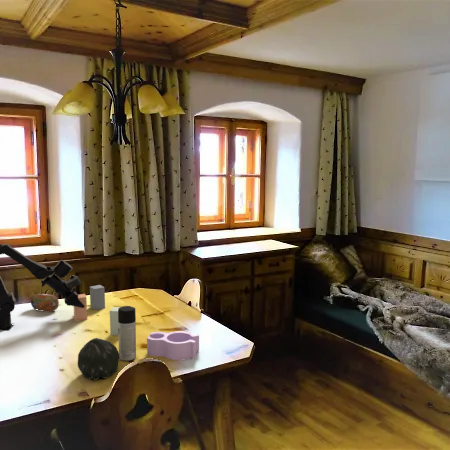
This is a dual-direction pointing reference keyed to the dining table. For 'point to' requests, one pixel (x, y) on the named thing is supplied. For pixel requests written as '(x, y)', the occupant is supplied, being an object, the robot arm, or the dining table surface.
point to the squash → (98, 359)
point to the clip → (173, 345)
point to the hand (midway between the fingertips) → (82, 304)
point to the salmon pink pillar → (81, 309)
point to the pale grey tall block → (114, 321)
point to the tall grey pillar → (97, 297)
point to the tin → (45, 302)
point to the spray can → (127, 333)
